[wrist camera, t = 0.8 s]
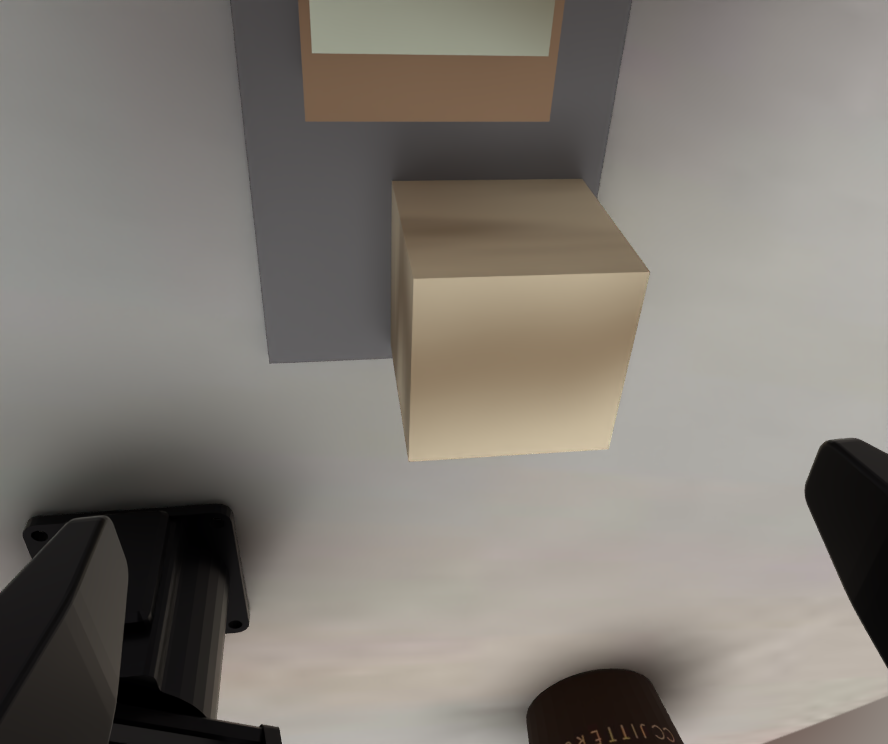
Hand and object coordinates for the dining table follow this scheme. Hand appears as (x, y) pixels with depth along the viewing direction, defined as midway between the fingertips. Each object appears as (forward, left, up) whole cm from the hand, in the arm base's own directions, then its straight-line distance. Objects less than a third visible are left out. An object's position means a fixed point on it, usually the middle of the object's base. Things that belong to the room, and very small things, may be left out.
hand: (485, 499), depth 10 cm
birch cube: (-3, -2, -12) cm, 12 cm away
